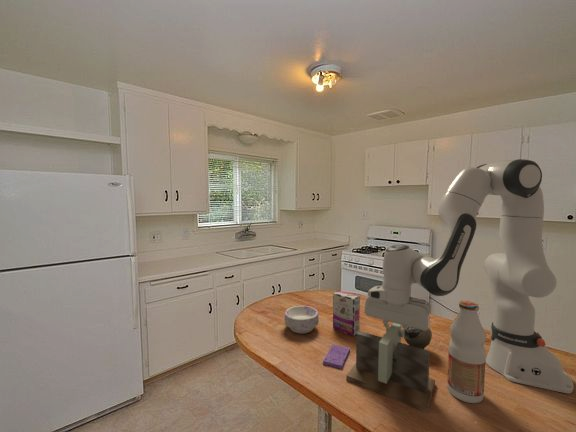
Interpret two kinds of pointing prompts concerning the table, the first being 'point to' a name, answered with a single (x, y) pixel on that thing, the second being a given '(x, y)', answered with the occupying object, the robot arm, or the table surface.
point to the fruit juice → (467, 355)
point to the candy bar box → (346, 312)
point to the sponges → (336, 356)
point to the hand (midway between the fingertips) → (395, 334)
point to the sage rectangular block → (388, 352)
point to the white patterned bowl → (301, 318)
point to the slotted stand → (394, 372)
